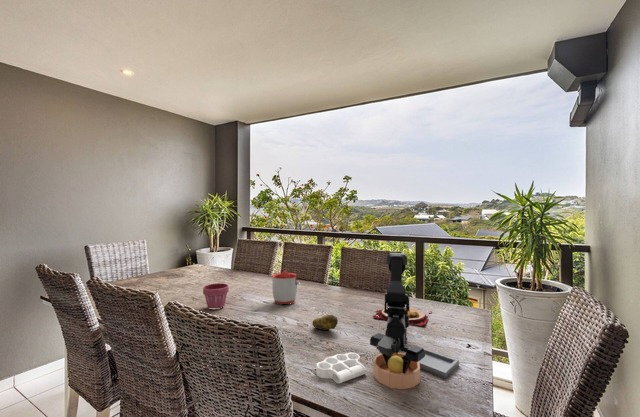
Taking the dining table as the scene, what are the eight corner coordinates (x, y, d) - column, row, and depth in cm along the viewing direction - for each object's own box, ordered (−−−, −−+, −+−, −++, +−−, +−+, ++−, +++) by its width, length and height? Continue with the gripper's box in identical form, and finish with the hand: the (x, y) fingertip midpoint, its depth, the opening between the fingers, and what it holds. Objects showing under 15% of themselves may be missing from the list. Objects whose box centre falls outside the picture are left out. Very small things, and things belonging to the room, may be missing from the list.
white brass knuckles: (331, 389, 100) (309, 369, 112) (373, 373, 109) (348, 356, 122) (331, 379, 100) (309, 360, 112) (373, 364, 109) (348, 348, 122)
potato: (324, 324, 154) (324, 308, 154) (340, 332, 144) (340, 315, 144) (310, 328, 149) (310, 311, 149) (326, 337, 139) (326, 319, 139)
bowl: (364, 375, 107) (364, 362, 107) (389, 359, 118) (389, 348, 118) (405, 394, 96) (405, 380, 96) (427, 375, 107) (427, 362, 107)
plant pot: (212, 313, 171) (212, 290, 171) (198, 308, 179) (198, 286, 179) (233, 306, 182) (233, 285, 182) (219, 302, 190) (219, 281, 190)
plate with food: (424, 329, 149) (424, 322, 149) (372, 318, 162) (372, 312, 162) (432, 314, 171) (432, 308, 171) (385, 306, 184) (385, 300, 184)
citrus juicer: (299, 306, 182) (299, 273, 182) (269, 306, 182) (269, 273, 182) (301, 298, 197) (301, 267, 197) (274, 298, 198) (274, 267, 198)
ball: (384, 373, 107) (384, 356, 107) (393, 367, 111) (393, 350, 111) (399, 380, 103) (399, 362, 103) (408, 373, 107) (408, 356, 107)
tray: (403, 362, 116) (403, 356, 116) (418, 351, 125) (418, 346, 125) (445, 378, 105) (445, 372, 105) (458, 365, 114) (458, 360, 114)
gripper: (360, 325, 108) (360, 369, 108) (409, 341, 95) (409, 392, 95) (378, 317, 116) (378, 358, 116) (425, 331, 103) (425, 377, 103)
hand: (396, 370), depth 107 cm, fingers closed on ball, 6 cm apart
